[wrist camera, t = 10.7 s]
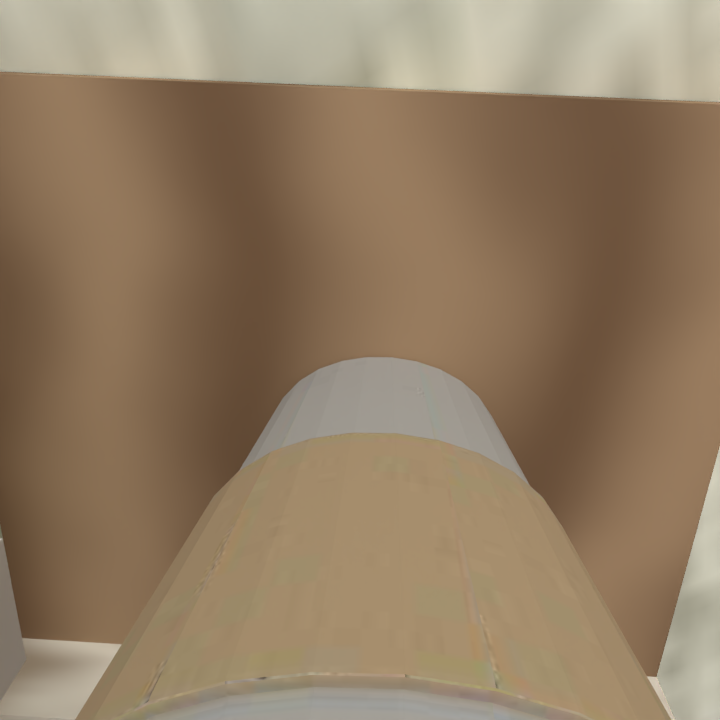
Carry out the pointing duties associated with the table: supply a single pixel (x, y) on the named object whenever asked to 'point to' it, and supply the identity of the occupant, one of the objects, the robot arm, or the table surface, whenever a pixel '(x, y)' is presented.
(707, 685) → the table surface
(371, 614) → the coffee cup
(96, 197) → the shelf board
